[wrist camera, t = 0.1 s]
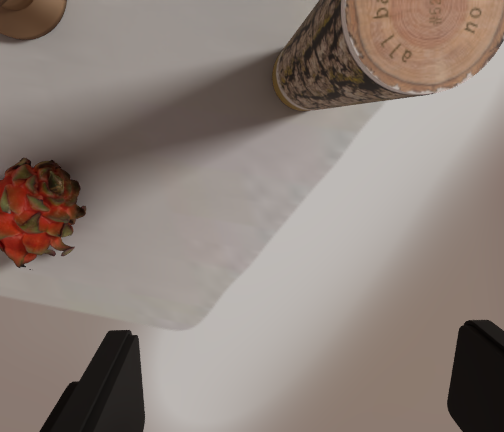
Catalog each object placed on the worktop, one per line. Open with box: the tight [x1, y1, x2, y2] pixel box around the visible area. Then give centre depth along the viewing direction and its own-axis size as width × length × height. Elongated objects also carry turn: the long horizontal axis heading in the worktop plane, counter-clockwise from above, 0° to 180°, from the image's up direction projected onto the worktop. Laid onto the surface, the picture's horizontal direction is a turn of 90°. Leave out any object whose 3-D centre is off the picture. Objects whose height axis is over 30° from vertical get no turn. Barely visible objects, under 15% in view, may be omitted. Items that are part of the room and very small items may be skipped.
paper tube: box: [272, 0, 504, 111], centre depth 26 cm, size 7×7×25 cm
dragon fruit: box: [0, 158, 86, 270], centre depth 37 cm, size 8×8×12 cm
